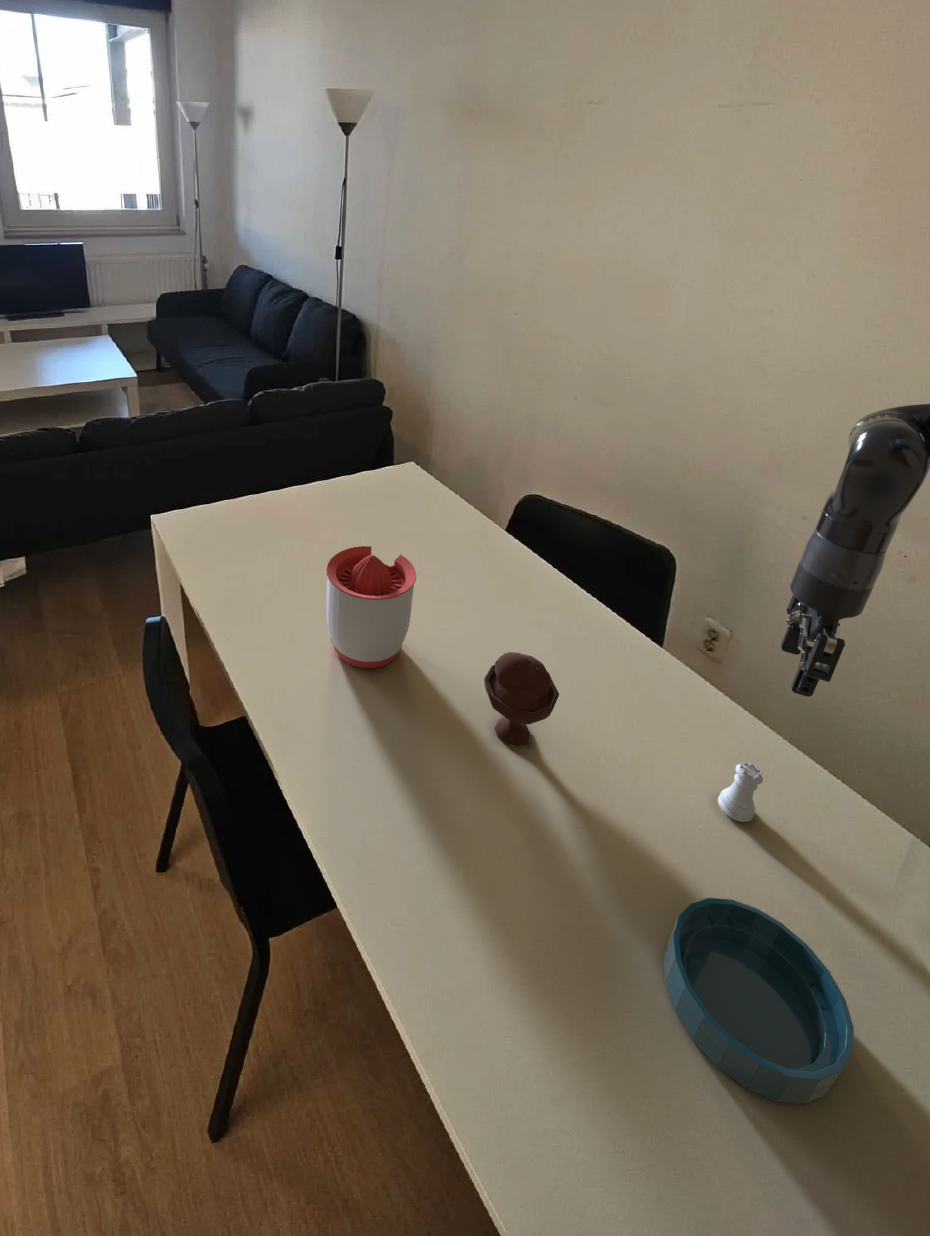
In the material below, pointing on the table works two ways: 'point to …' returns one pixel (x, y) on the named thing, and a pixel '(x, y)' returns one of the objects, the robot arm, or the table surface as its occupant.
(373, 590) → the citrus juicer
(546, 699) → the ice cream bowl
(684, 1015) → the shallow round dish
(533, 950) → the table surface
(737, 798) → the rook chess piece
